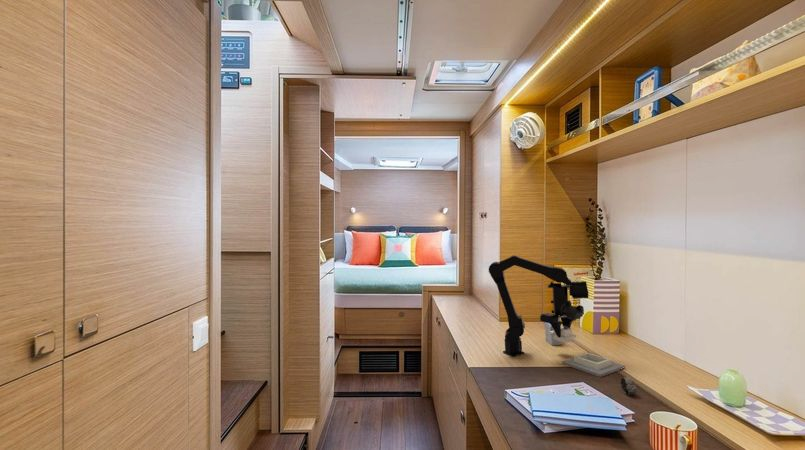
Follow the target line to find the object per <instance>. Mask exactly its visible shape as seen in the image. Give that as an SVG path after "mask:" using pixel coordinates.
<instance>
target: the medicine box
mask: <svg viewBox="0 0 805 450" xmlns="http://www.w3.org/2000/svg"><path fill="white" fill-rule="evenodd" d="M550 331H553V328H552V326H551V324H550V323H547V322H544V333H545V341H546V342H548V343H549V344H550V345H551V346H562V343H563V342H561V341H557V340H554V335H553V334H550Z"/></svg>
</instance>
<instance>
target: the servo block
mask: <svg viewBox="0 0 805 450" xmlns="http://www.w3.org/2000/svg"><path fill="white" fill-rule="evenodd" d="M550 334H553V335H554V340H557V341H561V342H562V343H564V344H565V343H566V344H567V343H571V342H574V340H573V339H576V338H578V337H577V334H574V333H573V328H571V327H570V328H567V326H563V325H561V337H560V338H559V337H557V335H556V333H555V331H554V329H553V331H550Z"/></svg>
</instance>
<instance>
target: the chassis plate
mask: <svg viewBox="0 0 805 450" xmlns="http://www.w3.org/2000/svg"><path fill="white" fill-rule="evenodd" d="M561 364H562V365H564V366H567V367H570V368H573V369H576V370H579V371H581V372H585V373H587V374H590V375H593V376H596V377H598V378H602V377H605V376H607V375H610V374H612V373H613V374H614V373H616V372H618V371H621V370H620V369H621V368H623V367H625V368H626V366H625V365H624V364H621V363H617V362H614V361H612V359H610V358H607V357H603V356H600V355H597V354H594V353H590V352H584V353H581V354H577V355H574V356H573V357H572V358H568V359H565V360H562V361H561Z"/></svg>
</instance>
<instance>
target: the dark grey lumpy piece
mask: <svg viewBox="0 0 805 450" xmlns="http://www.w3.org/2000/svg"><path fill="white" fill-rule="evenodd" d="M627 387H628V388H627ZM620 388H621V390H622V391H623V394H625V395H626V396H632V395H636V394H637V392H638V389H637V386H636V384H634V383H633V381H632V380H631V378H630V377H629V376H627V377H626V376H624V377H622V378H621V379H620Z"/></svg>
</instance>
